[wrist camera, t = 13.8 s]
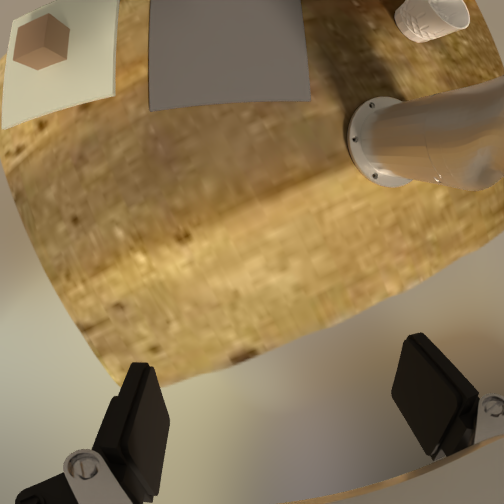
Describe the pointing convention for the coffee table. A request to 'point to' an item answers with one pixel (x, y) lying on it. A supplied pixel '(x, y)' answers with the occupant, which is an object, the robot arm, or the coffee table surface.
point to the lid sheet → (69, 73)
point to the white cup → (431, 18)
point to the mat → (226, 52)
